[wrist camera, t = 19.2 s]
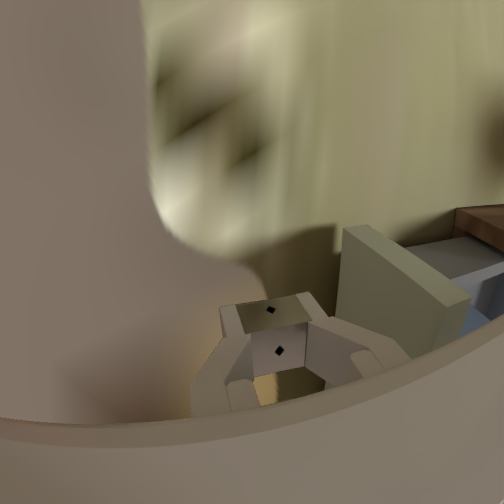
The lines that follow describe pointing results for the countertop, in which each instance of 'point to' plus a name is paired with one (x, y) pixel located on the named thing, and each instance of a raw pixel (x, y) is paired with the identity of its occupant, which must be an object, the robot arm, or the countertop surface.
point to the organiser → (481, 224)
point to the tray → (417, 287)
